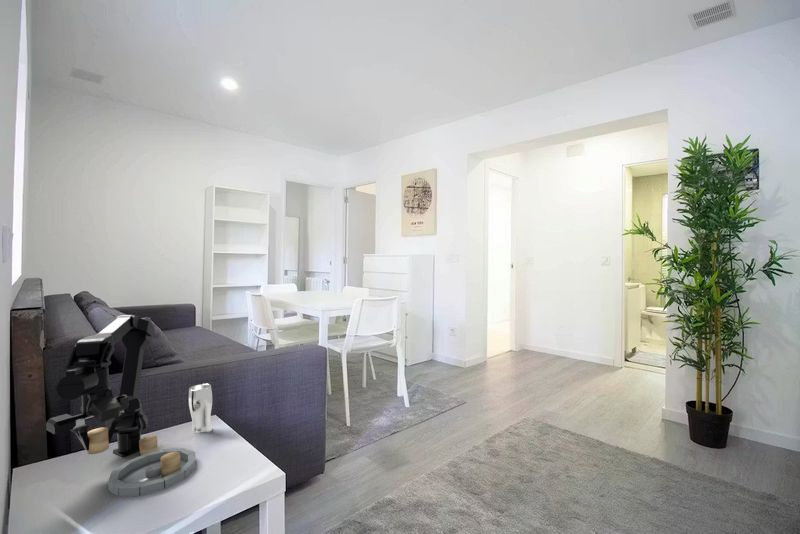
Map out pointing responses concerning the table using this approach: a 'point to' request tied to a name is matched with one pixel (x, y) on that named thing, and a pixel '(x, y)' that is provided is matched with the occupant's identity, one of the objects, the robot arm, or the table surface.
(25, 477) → the table surface
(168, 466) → the tan short rounded cylinder
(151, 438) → the bead
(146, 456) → the tray
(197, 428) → the beer glass
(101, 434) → the bead
